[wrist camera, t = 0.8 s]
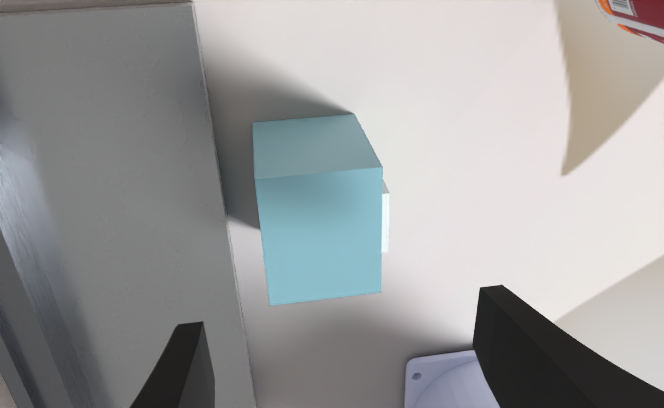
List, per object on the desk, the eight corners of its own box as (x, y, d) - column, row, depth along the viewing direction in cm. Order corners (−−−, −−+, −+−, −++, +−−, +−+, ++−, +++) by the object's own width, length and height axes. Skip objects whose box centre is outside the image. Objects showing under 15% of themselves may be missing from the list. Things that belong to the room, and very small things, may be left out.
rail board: (259, 428, 29) (261, 479, 26) (68, 456, 28) (50, 512, 25) (193, 1, 18) (185, 17, 15) (-125, 20, 17) (-191, 40, 14)
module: (364, 220, 23) (391, 291, 19) (264, 230, 23) (269, 305, 19) (363, 112, 21) (395, 165, 17) (252, 121, 20) (254, 179, 16)
